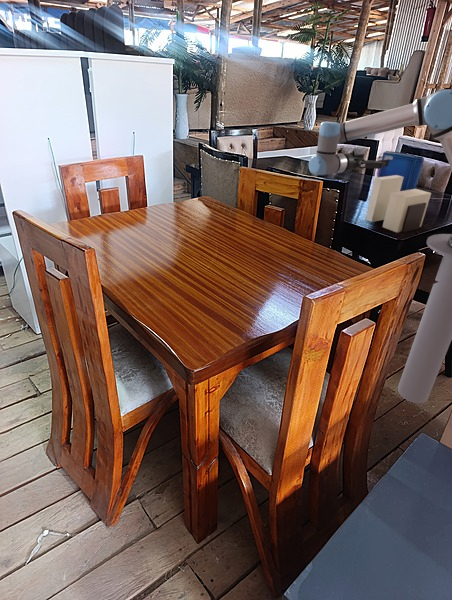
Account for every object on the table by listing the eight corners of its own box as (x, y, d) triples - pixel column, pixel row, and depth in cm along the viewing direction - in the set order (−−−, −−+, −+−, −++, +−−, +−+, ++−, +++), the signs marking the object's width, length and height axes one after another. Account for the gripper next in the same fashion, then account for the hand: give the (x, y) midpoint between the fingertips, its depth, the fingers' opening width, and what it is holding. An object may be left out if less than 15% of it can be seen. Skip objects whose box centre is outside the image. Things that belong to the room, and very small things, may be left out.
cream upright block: (422, 227, 187) (433, 193, 179) (398, 233, 178) (408, 197, 170) (406, 221, 193) (415, 188, 185) (382, 227, 185) (391, 192, 177)
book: (413, 201, 227) (426, 155, 215) (411, 203, 222) (423, 156, 209) (375, 194, 237) (384, 150, 224) (372, 197, 231) (381, 151, 219)
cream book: (392, 217, 198) (403, 176, 188) (371, 222, 190) (381, 179, 180) (386, 215, 201) (396, 175, 191) (364, 219, 193) (374, 177, 183)
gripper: (318, 166, 175) (351, 163, 186) (362, 179, 157) (396, 174, 168) (321, 148, 172) (354, 146, 182) (367, 159, 154) (401, 155, 164)
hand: (375, 159), depth 175 cm, fingers open, 13 cm apart
